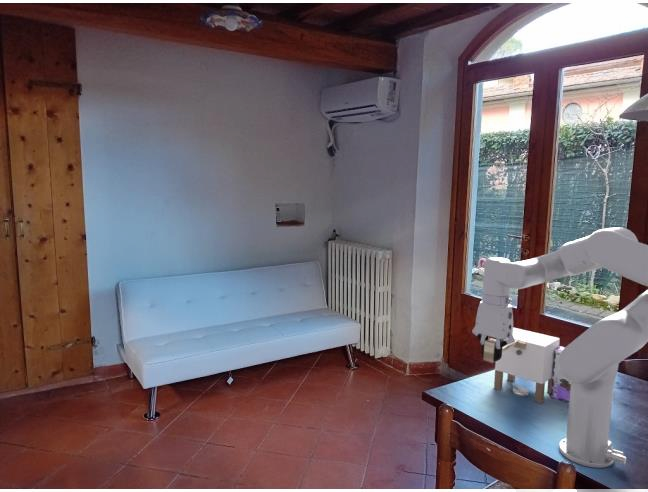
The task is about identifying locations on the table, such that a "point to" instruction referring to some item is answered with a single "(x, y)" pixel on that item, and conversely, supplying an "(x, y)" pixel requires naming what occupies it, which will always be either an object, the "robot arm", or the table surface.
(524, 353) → the cabinet
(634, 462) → the table surface
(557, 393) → the candy box
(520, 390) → the token
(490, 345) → the wooden mallet
